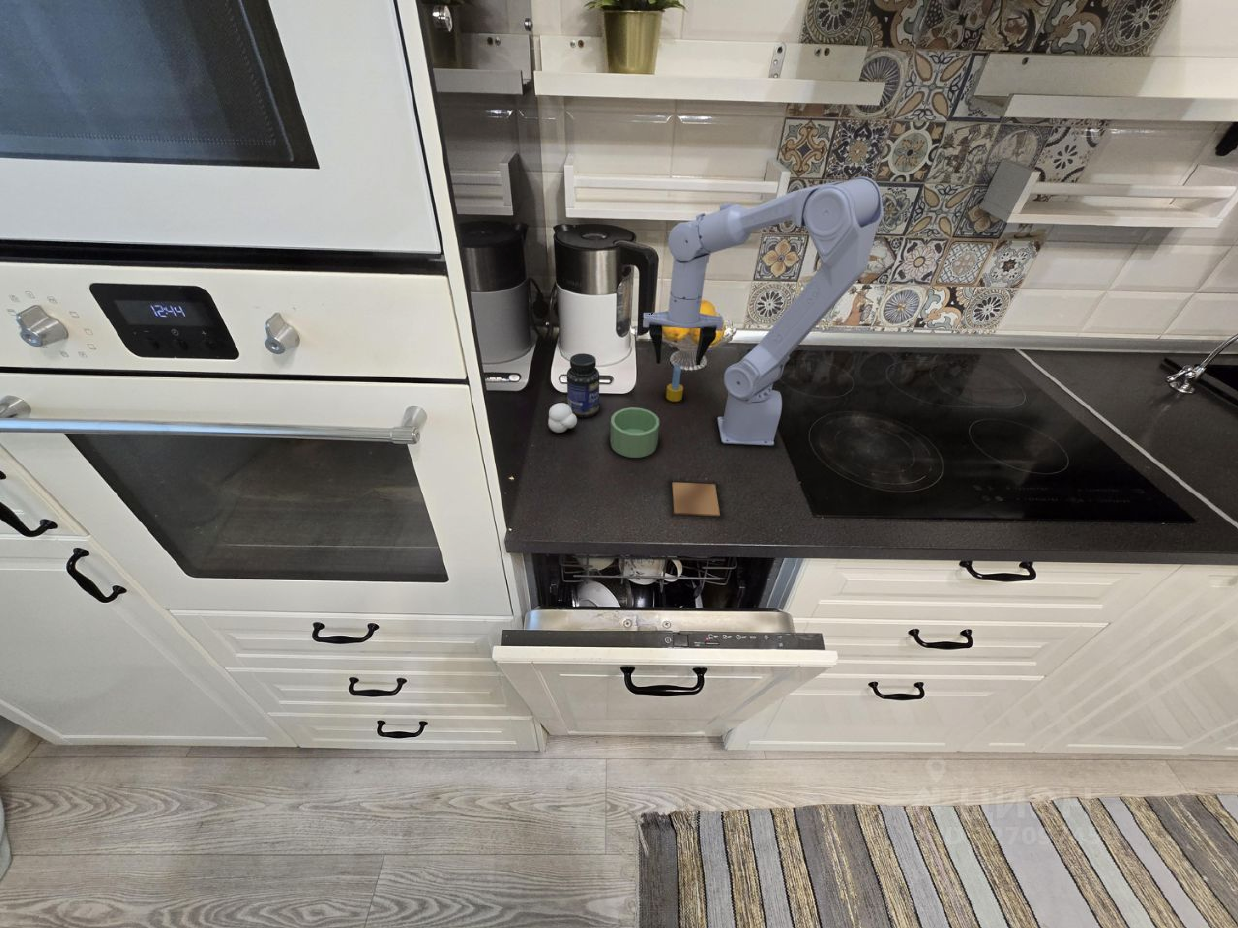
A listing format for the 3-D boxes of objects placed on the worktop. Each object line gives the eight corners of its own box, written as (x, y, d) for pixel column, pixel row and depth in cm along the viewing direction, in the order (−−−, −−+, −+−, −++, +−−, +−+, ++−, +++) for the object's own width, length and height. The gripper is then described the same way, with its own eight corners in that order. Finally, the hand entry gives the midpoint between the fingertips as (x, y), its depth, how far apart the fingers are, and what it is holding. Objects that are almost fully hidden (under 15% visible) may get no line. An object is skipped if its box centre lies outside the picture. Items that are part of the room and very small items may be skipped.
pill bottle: (594, 420, 98) (594, 369, 90) (563, 416, 98) (561, 365, 91) (602, 403, 102) (602, 353, 95) (572, 399, 103) (571, 349, 96)
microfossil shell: (553, 421, 97) (551, 396, 93) (580, 425, 96) (580, 400, 93) (546, 435, 93) (544, 410, 90) (574, 439, 93) (574, 414, 89)
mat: (714, 486, 84) (715, 484, 84) (719, 516, 79) (719, 514, 79) (672, 484, 84) (672, 482, 84) (674, 514, 79) (674, 512, 79)
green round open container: (656, 430, 96) (658, 408, 92) (657, 459, 89) (659, 436, 86) (611, 428, 96) (612, 406, 93) (609, 456, 89) (610, 433, 86)
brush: (681, 393, 106) (685, 363, 101) (682, 402, 103) (686, 371, 99) (665, 393, 106) (669, 362, 101) (666, 401, 104) (669, 370, 99)
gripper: (724, 287, 94) (713, 354, 103) (645, 283, 94) (640, 350, 103) (729, 302, 88) (717, 371, 97) (645, 298, 89) (640, 367, 97)
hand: (677, 362), depth 100 cm, fingers open, 7 cm apart
